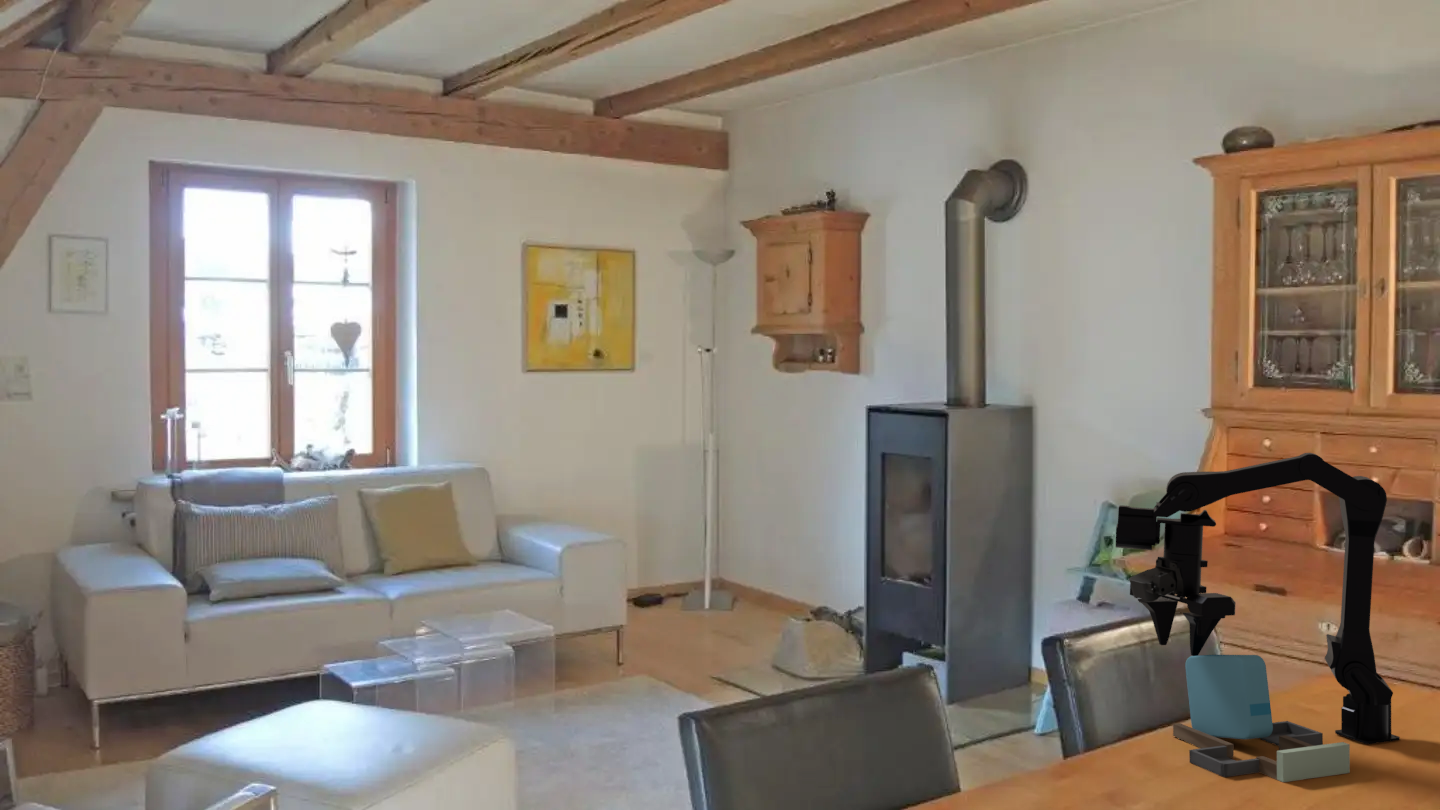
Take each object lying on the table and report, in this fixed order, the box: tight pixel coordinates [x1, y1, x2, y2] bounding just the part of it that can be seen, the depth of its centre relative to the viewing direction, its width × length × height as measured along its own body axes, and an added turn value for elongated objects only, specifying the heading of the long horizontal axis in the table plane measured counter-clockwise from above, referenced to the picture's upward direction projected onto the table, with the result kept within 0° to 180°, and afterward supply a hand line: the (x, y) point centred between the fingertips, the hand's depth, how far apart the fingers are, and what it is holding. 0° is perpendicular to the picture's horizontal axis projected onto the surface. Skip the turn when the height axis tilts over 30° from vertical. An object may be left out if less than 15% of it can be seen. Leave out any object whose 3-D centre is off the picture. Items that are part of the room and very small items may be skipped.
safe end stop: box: [1276, 741, 1351, 783], centre depth 176 cm, size 11×1×4 cm, turn 108°
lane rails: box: [1172, 722, 1314, 780], centre depth 187 cm, size 11×22×2 cm, turn 18°
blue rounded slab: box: [1184, 654, 1273, 740], centre depth 192 cm, size 12×4×12 cm, turn 24°
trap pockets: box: [1188, 720, 1324, 778], centre depth 187 cm, size 24×14×2 cm, turn 108°
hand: (1178, 650), depth 202 cm, fingers open, 7 cm apart
